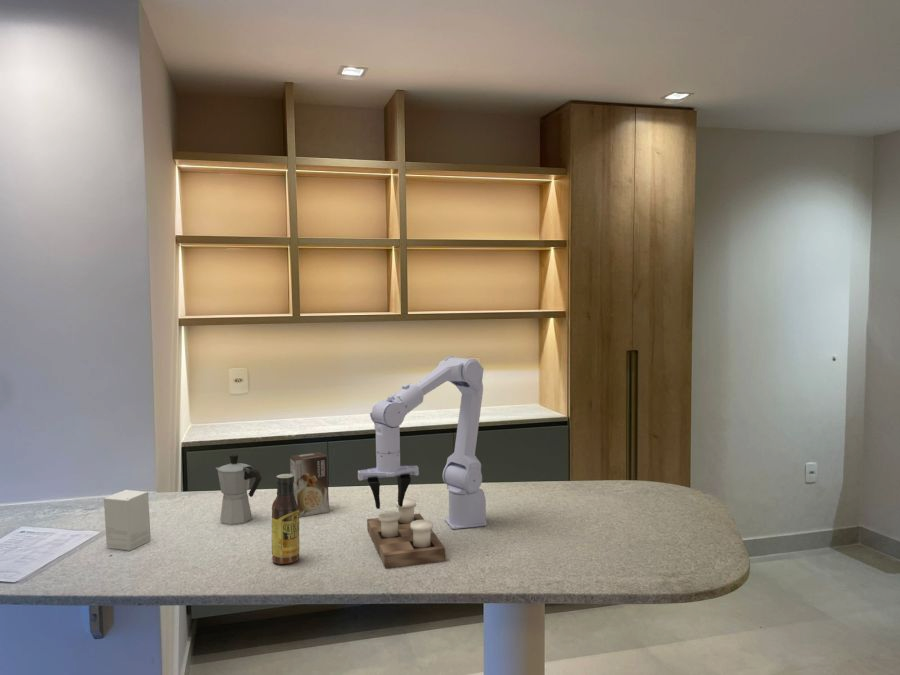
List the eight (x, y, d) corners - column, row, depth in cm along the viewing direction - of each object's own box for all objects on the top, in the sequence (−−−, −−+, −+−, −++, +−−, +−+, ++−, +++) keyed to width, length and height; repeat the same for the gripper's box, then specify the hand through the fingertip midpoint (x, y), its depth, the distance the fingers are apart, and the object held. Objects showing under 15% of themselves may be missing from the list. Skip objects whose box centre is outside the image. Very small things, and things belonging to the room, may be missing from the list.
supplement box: (151, 540, 172) (149, 491, 171) (129, 551, 165) (126, 500, 164) (128, 537, 175) (126, 488, 174) (105, 548, 168) (102, 497, 167)
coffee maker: (206, 522, 186) (203, 456, 184) (228, 512, 194) (225, 449, 192) (251, 528, 180) (249, 461, 179) (272, 518, 188) (270, 453, 187)
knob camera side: (430, 539, 163) (429, 518, 163) (435, 547, 158) (435, 526, 158) (408, 541, 162) (408, 521, 161) (413, 549, 157) (413, 528, 156)
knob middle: (398, 529, 170) (397, 510, 169) (402, 537, 165) (402, 516, 164) (377, 532, 168) (376, 512, 168) (380, 539, 163) (380, 519, 163)
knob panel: (420, 524, 182) (419, 513, 181) (445, 560, 158) (445, 548, 157) (367, 530, 178) (367, 519, 178) (385, 568, 154) (384, 555, 154)
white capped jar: (414, 516, 179) (413, 497, 179) (418, 522, 174) (418, 503, 174) (394, 518, 178) (394, 499, 178) (398, 525, 173) (398, 505, 173)
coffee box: (322, 506, 198) (321, 451, 197) (329, 512, 192) (328, 456, 191) (291, 511, 194) (289, 455, 192) (297, 518, 188) (295, 460, 187)
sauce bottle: (285, 568, 155) (283, 481, 153) (266, 562, 158) (263, 477, 156) (306, 558, 160) (303, 474, 159) (286, 552, 164) (284, 470, 162)
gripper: (360, 457, 159) (361, 514, 160) (421, 452, 163) (422, 508, 164) (356, 450, 166) (357, 505, 167) (414, 445, 170) (415, 499, 171)
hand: (389, 506), depth 166 cm, fingers open, 5 cm apart
